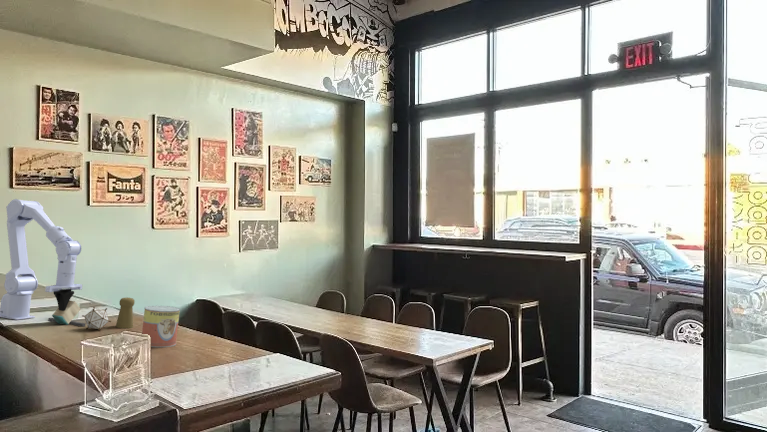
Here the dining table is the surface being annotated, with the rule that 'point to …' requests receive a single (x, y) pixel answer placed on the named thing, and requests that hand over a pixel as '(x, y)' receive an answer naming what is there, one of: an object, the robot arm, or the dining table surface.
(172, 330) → the canned food
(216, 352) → the dining table surface
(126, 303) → the cork
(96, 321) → the game die
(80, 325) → the rubber trip strip
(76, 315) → the sage block
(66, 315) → the birch block
